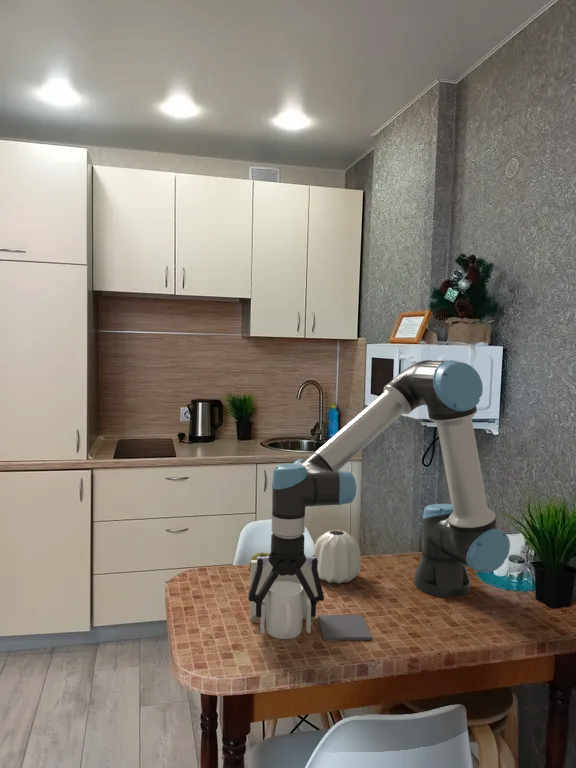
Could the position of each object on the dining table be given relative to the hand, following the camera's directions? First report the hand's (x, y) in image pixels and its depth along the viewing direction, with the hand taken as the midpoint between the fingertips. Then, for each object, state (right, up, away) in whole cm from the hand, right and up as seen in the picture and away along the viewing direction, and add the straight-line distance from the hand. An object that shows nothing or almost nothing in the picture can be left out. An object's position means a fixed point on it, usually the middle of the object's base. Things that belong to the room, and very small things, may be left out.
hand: (285, 630), depth 129 cm
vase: (+15, 0, +34) cm, 37 cm away
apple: (-6, 0, +32) cm, 32 cm away
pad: (+14, -1, +4) cm, 14 cm away
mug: (0, -1, 0) cm, 1 cm away
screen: (-1, -1, +8) cm, 9 cm away
